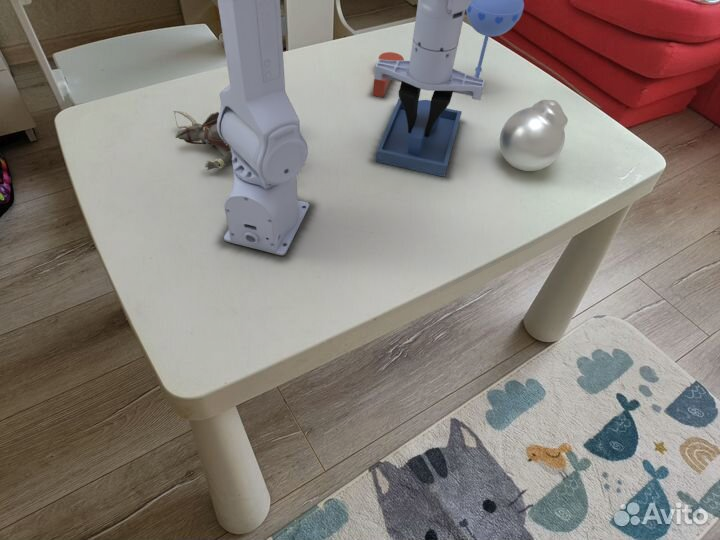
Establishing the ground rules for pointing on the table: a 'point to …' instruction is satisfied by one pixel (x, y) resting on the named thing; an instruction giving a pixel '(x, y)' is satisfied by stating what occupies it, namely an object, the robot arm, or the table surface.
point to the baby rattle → (493, 19)
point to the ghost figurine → (534, 136)
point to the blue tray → (433, 147)
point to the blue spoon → (420, 127)
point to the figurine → (206, 137)
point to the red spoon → (383, 84)
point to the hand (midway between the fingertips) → (419, 131)
